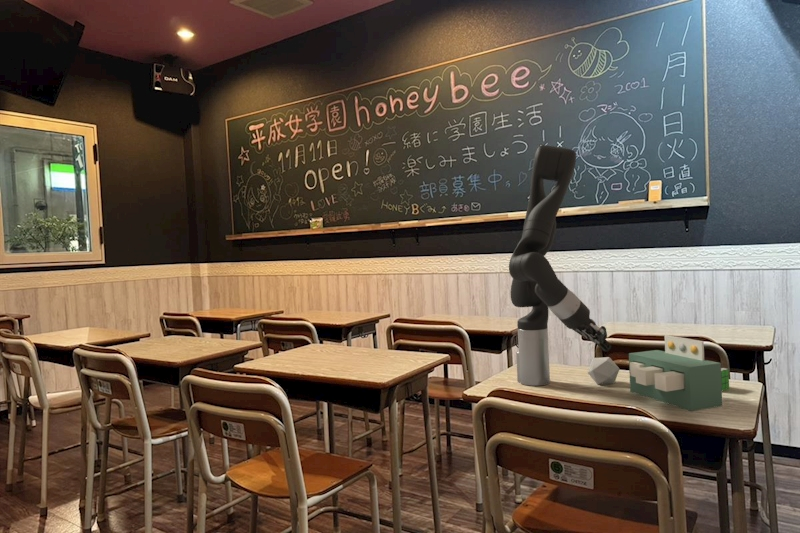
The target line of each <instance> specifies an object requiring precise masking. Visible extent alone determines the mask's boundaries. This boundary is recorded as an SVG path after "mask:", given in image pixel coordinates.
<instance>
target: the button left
mask: <svg viewBox="0 0 800 533" xmlns="http://www.w3.org/2000/svg"><path fill="white" fill-rule="evenodd" d="M644 367H645V363H642V362H630V373H629V377H630V376H633V377H636V373H635V369H636V368H644Z"/></svg>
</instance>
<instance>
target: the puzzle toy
mask: <svg viewBox="0 0 800 533" xmlns="http://www.w3.org/2000/svg"><path fill="white" fill-rule="evenodd" d="M729 369H730V368H726V367H721V381H722V390H723V391H725V389H727V390H729V389H730V376H729V375H730V373H729Z"/></svg>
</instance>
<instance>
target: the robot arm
mask: <svg viewBox="0 0 800 533" xmlns="http://www.w3.org/2000/svg"><path fill="white" fill-rule="evenodd" d="M576 162H577V154H576V152H575V150H574V149H571V148H566V147H561V146H553V145H548V144H547V145H545V144H541V145H539V146H538V147H537V149H536V150H535V153H534V156H533V162H532V163H533V164H532V170H531V171H532V172H531V178H530V179H531V180H530V188H529V189H530V190H529V198H528V203H527V209H526V213H525V218H524V221H523V222H524V223H523V228H522V233H521V238H520V240H519V242H518V243H517V246H516V247H515V249H514V251H513V253H512V254H511V256H510V258H509V259H510V260H509V262H508V263H509V264H508V271H509V275H510V276H511V278H512V281H511V286H510V300H511V303H512V305H513V306H514V307H517V308H530V307H531V311H530V312H528V313H527V314H526V315H525V316H522V317H520V318H519V319H517V323H516V324H517V341H518V342H517V343H518V351H517V352H515V353H516V355H515V357H516V375H517V376H516V377H517V378H516V379H517V382H518V383H520V384H521V385H525V386H531V387H532V386H535V387H536V386H545V385H549V384H550V383H551V378H550V353H549V352H550V351H549V332H548V331H549V330H548V322H549V310H550V311H551V312H552V314H553V315H554V316H556V318H558V320H559V322H560V321H561V323H562V324H564V326H565V327H566V328H568V329H569V330H572V331H574V332H576V333H577V334H578V335H579V336H581V337H582V338H585V339H586V340H587V341H590V342H592V343H594V344H596V345H597V346H598V347H599V348H600V349H601V350H602V351H604V352H607V353H608V352H610V350H611V348H612V345H611V343H610V342H609V341H607V340H606V339H607V337H608V333H607V327H605V326H603V325H601V326H598V325H597V324H596V322H595V320H593V319H592V318H591V317H590V316H591V315H590V313H591V311H590V309H589V308H588V306H586V304H585V303H584V302H583V301H582V300H581V298H579V297H578V296H577V295H576V294H575V293H574V292H573V291H571V290H570V289H569V288H568V287H567V286H566V285H565V284H564V283H563V282H562V281H561V280H560V279H559V278H558V275H557V274H556V272H555V271H554V269H553V267H552V265H551V263H550V261H549V260H548V259H547V258H546V257H545V256H546V255H547V253H548V252H549V251H550V249H551V248H552V246H553V244H554V240H555V235H556V231H557V229H556V228H557V221H556V217H557V215H558V213H559V210H560V208H561V205H562V204H563V201H564V198H565V195H566V194H567V191H568V188H569V186H570V183H571V180H572V178H573V174H574V172H575V168H576ZM544 180H547V181H552V182H556V184H555V186H554V188H553V189H552V191H550V193H549V194H547V195H546V192H545V186H544Z"/></svg>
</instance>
